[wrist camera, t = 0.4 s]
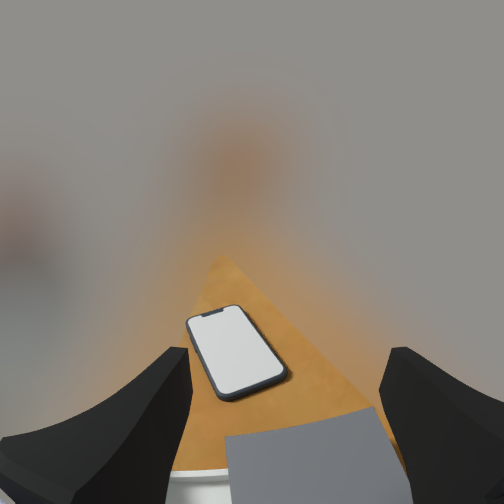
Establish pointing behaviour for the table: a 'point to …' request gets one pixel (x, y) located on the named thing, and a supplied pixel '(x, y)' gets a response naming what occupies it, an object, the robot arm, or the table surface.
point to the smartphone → (234, 353)
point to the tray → (199, 487)
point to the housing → (318, 464)
